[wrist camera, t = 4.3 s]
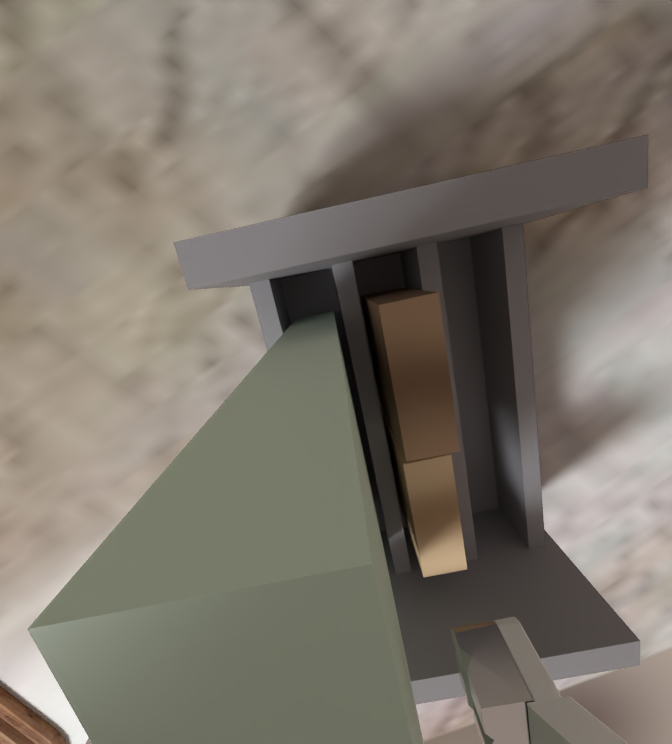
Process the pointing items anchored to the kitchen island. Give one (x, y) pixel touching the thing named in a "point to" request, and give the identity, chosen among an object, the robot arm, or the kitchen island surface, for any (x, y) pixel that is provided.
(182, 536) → the tall panel
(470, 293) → the rack
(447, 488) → the offcut oak
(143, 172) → the kitchen island surface
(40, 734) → the chopping board
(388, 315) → the offcut walnut
